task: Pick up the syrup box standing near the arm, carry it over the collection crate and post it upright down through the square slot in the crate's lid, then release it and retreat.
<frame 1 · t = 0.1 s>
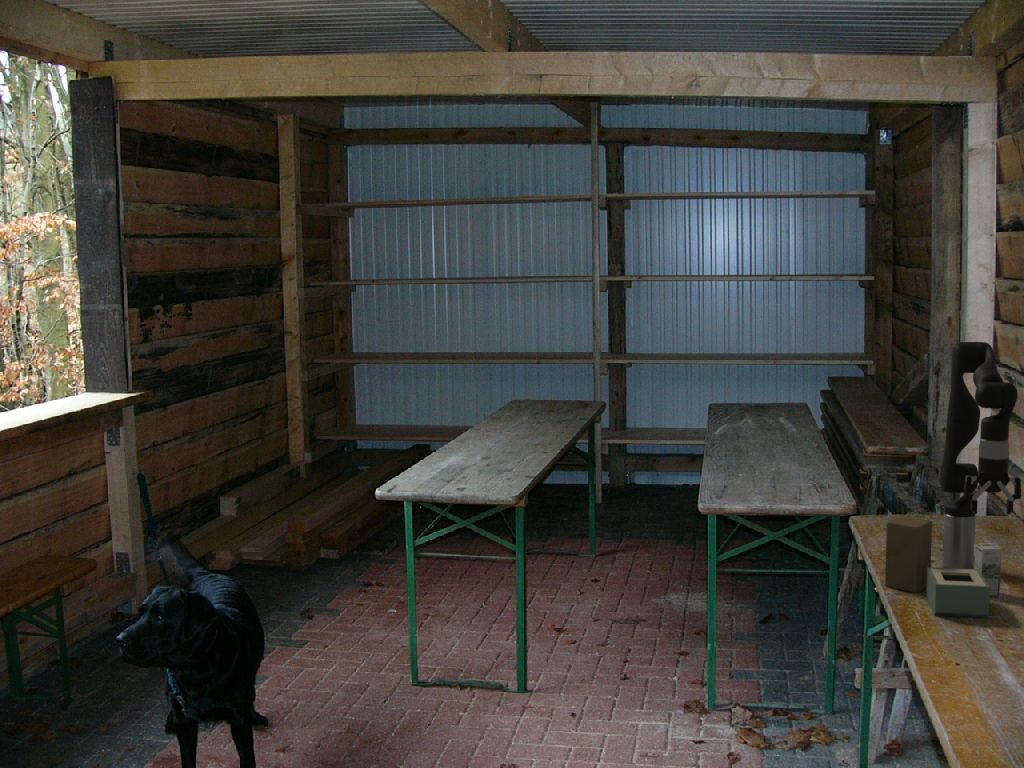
hand: (991, 513, 307), 29 cm above the table, fingers open, 8 cm apart
syrup box: (985, 593, 330), on the table
crate: (956, 607, 318), on the table
wooden block: (907, 586, 338), on the table
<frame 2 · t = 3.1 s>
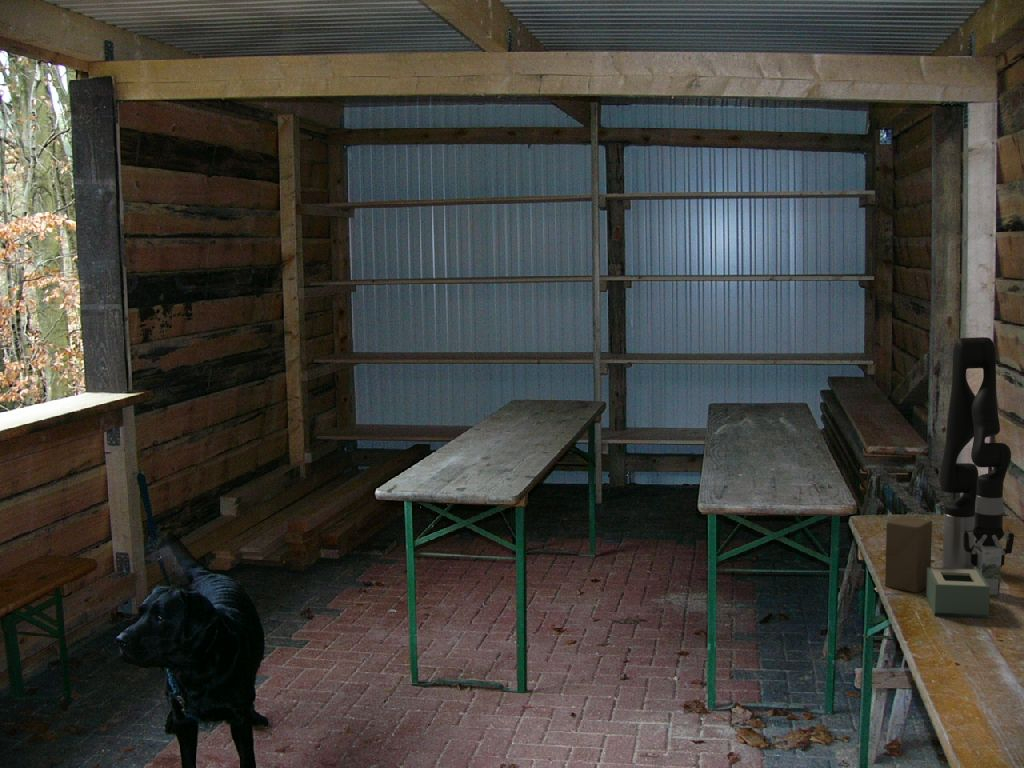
hand: (986, 566, 329), 8 cm above the table, fingers closed on syrup box, 6 cm apart
syrup box: (985, 593, 330), on the table, touching gripper
everything else where it was.
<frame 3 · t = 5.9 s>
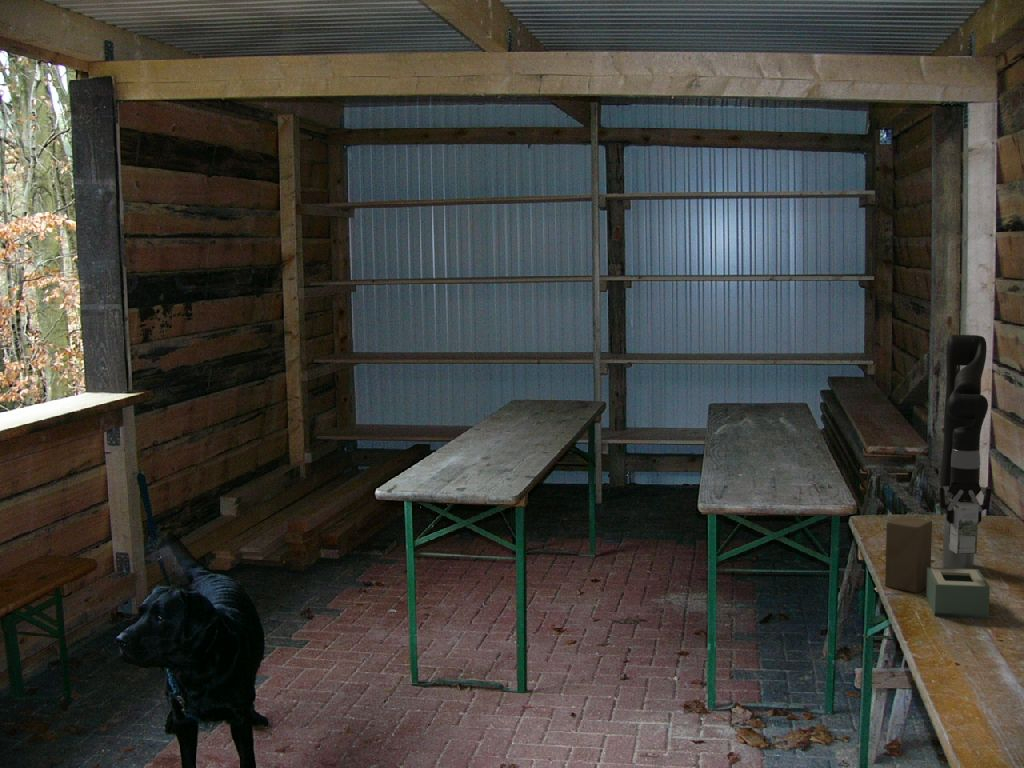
hand: (963, 523, 316), 24 cm above the table, fingers closed on syrup box, 6 cm apart
syrup box: (962, 552, 317), point 16 cm above the table, touching gripper
everything else where it was.
when the fingers open (11 cm above the table, at t = 9.1 s): syrup box drops 2 cm, resting on crate.
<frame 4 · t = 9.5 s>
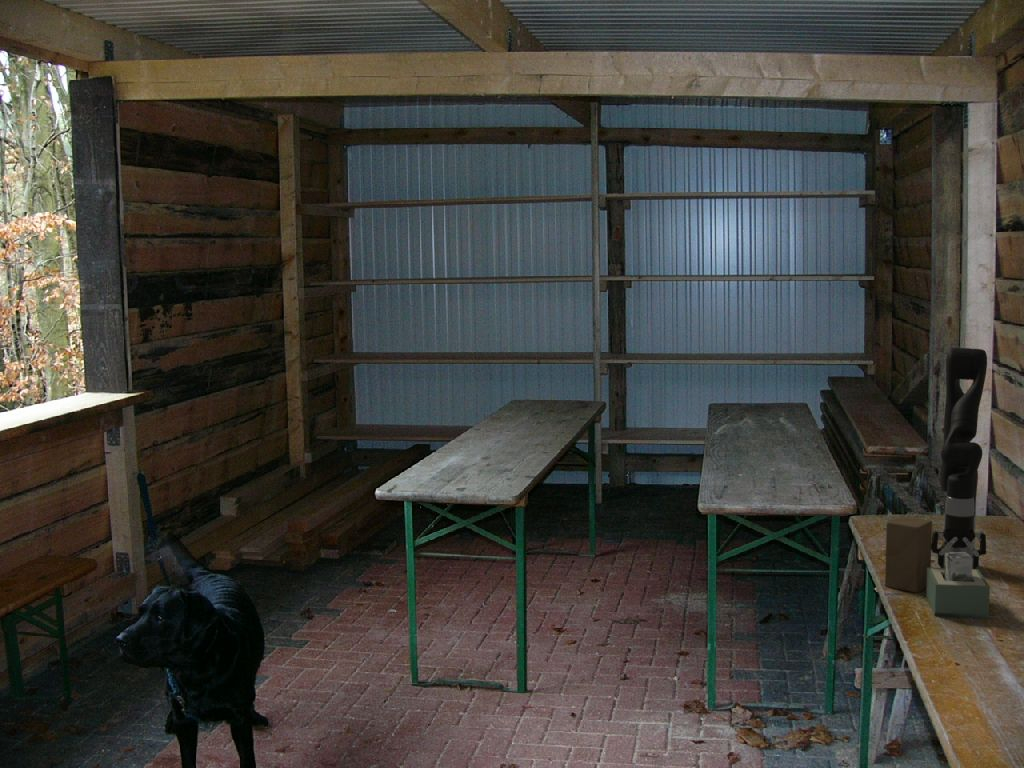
hand: (957, 567, 317), 12 cm above the table, fingers open, 8 cm apart
syrup box: (957, 604, 318), point 1 cm above the table, touching crate
everything else where it was.
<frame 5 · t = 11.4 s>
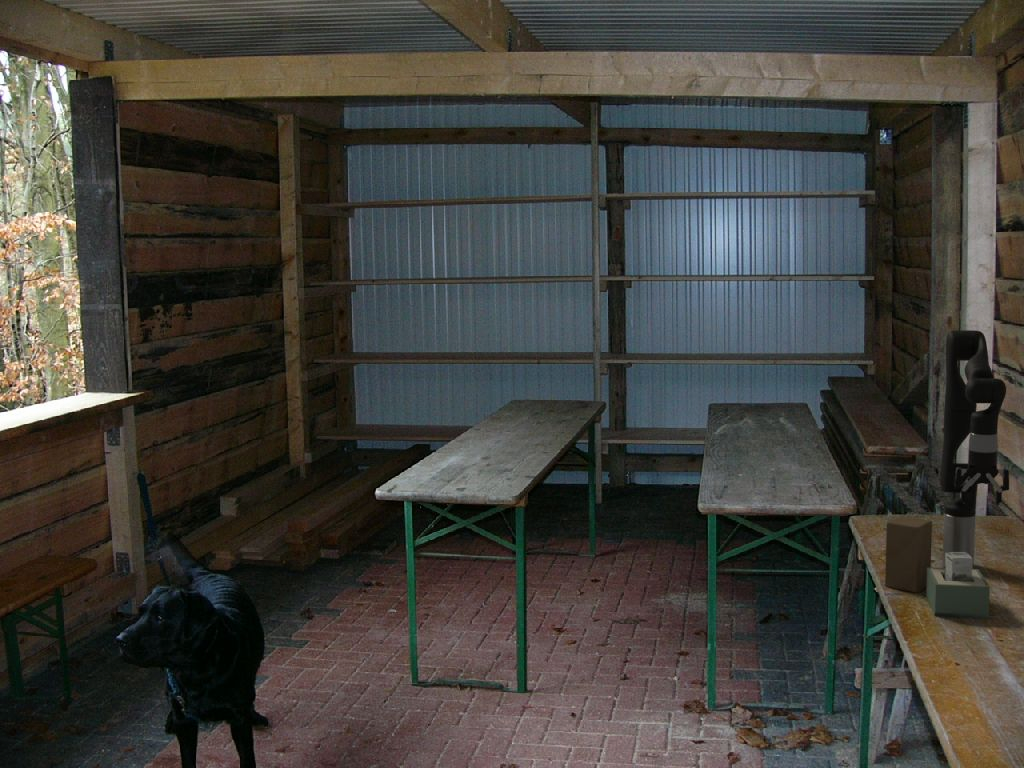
hand: (980, 503, 319), 29 cm above the table, fingers open, 8 cm apart
nothing on the table moved.
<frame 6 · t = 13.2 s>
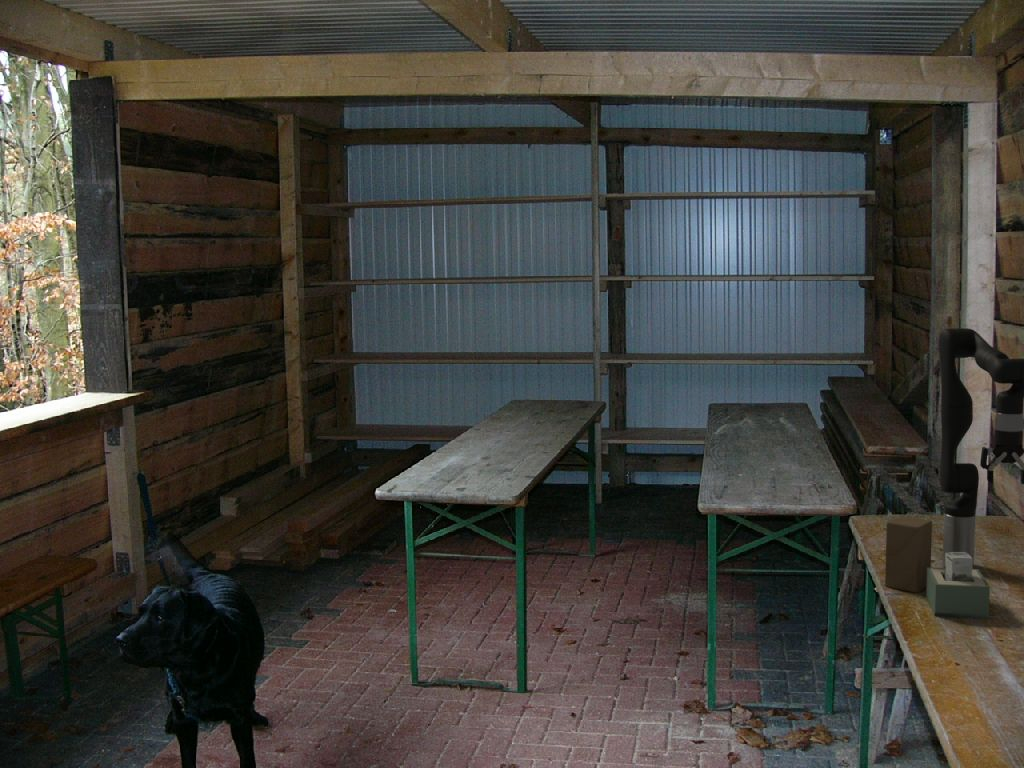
hand: (1006, 483, 324), 33 cm above the table, fingers open, 8 cm apart
nothing on the table moved.
at the end: syrup box inside the target area on the crate (0.3 cm from its centre), point 0.8 cm above the crate's base; the gripper is holding nothing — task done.
